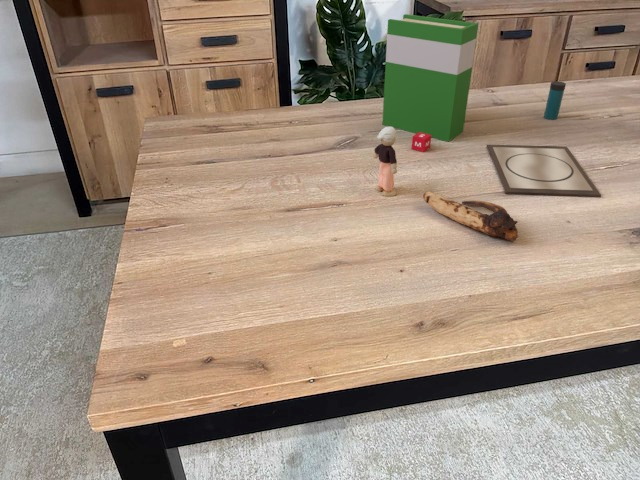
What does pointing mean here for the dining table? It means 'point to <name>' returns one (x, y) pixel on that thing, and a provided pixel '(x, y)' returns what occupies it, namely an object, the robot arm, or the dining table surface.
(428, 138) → the dice
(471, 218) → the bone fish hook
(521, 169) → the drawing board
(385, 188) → the grandmother figurine
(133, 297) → the dining table surface
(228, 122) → the dining table surface
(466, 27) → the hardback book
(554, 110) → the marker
